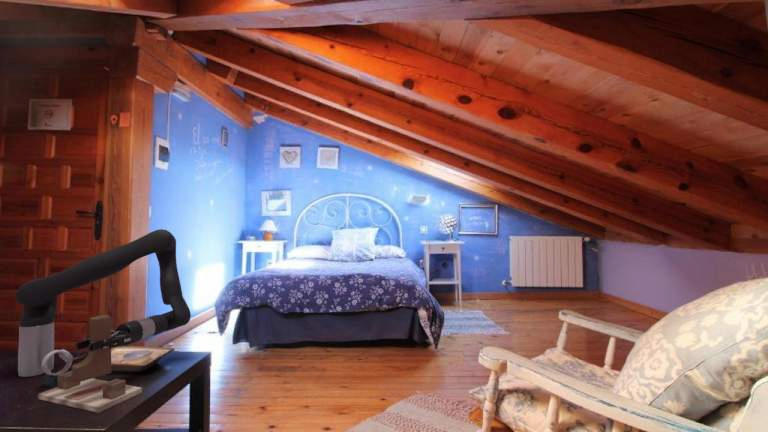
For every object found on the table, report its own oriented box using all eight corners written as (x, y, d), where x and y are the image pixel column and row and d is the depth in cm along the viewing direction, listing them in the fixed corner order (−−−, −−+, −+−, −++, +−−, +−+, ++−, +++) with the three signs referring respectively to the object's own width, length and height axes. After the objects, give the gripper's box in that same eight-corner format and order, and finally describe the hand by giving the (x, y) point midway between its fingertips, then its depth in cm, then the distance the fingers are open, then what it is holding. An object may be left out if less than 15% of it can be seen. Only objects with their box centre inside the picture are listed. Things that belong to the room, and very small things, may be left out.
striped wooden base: (38, 399, 111) (38, 380, 111) (84, 381, 124) (84, 364, 124) (98, 412, 103) (98, 393, 103) (141, 392, 115) (141, 374, 116)
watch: (76, 380, 125) (76, 347, 125) (47, 390, 117) (47, 355, 117) (66, 377, 127) (66, 345, 127) (37, 387, 119) (37, 353, 119)
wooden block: (75, 383, 109) (75, 322, 109) (71, 380, 111) (70, 320, 112) (111, 373, 116) (111, 316, 116) (106, 370, 119) (106, 314, 119)
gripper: (121, 318, 130) (66, 332, 113) (151, 321, 125) (99, 337, 109) (121, 339, 130) (66, 357, 113) (151, 343, 125) (99, 362, 109)
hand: (83, 347), depth 111 cm, fingers closed on wooden block, 4 cm apart
